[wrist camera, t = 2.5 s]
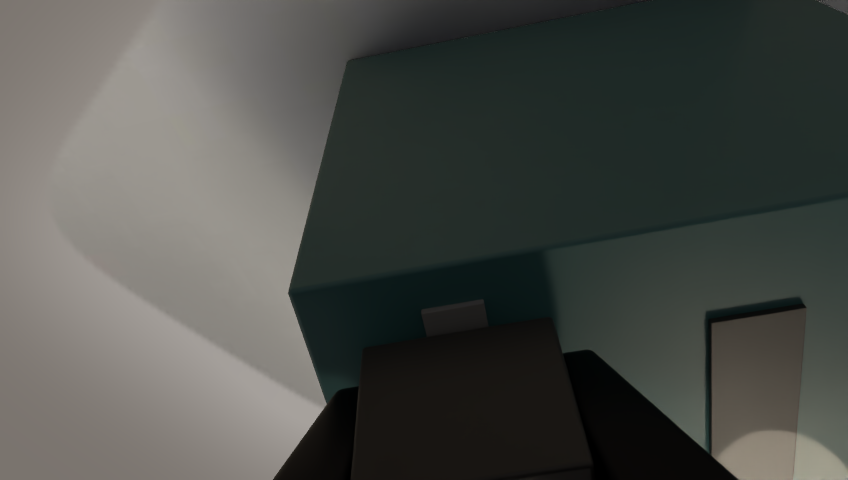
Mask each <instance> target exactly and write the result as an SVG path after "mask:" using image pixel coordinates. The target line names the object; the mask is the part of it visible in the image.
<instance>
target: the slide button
mask: <svg viewBox="0 0 848 480" xmlns="http://www.w3.org/2000/svg"><path fill="white" fill-rule="evenodd" d="M350 480H596V475H595V466H594V461H593V457H592V454H591V450H590V447H589V443H588V440H587V436H586V433H585V429H584V426H583V422H582V419H581V415H580V412H579V408H578V404H577V401H576V397H575V394H574V390H573V387H572V383H571V380H570V376H569V373H568V369H567V366H566V362H565V359H564V355H563V352H562V348H561V345H560V341H559V338H558V334H557V331H556V327H555V324H554V320H553V319H552V318H551V317H544V318H538V319H532V320H526V321H520V322H514V323H508V324H502V325H496V326H490V327H484V328H478V329H472V330H466V331H460V332H454V333H448V334H442V335H436V336H430V337H424V338H418V339H412V340H406V341H400V342H394V343H388V344H382V345H376V346H370V347H365V348H363V350H362V356H361V367H360V378H359V390H358V401H357V412H356V423H355V434H354V445H353V457H352V468H351V479H350Z"/></svg>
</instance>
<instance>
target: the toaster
mask: <svg viewBox="0 0 848 480" xmlns="http://www.w3.org/2000/svg"><path fill="white" fill-rule="evenodd" d="M288 294H289V297H290V300H291V303H292V305H293V308H294V311H295V314H296V317H297V320H298V323H299V326H300V328H301V331H302V334H303V337H304V340H305V343H306V346H307V349H308V351H309V354H310V357H311V360H312V363H313V366H314V369H315V372H316V374H317V377H318V380H319V383H320V386H321V389H322V392H323V394H324V397H325V400H326V403H327V404H328V402H329V401H330V400H331V398H332V397H333V395H334V394H335V393H336V392H337V391H338V390H341V389H344V388H351V387H357V386H359V378H360V367H361V356H362V350H363V348H365V347H370V346H376V345H382V344H388V343H394V342H400V341H406V340H412V339H418V338H424V337H430V336H436V335H442V334H448V333H454V332H460V331H466V330H472V329H478V328H484V327H490V326H496V325H502V324H508V323H514V322H520V321H526V320H532V319H538V318H544V317H551V318H552V319H553V320H554V324H555V327H556V331H557V334H558V338H559V341H560V345H561V348H562V352H563V353H567V352H573V351H579V350H585V349H589V350H592V351H594V352H595V353H596V354H597V355H598V356H599V357H600V358H602V359H603V360H604V361H605V362H606V363H607V364H608V365H610V366H611V367H612V368H613V369H614V370H615V371H616V372H617V373H619V374H620V375H621V376H622V377H623V378H624V379H625V380H627V381H628V382H629V383H630V384H631V385H632V386H633V387H634V388H636V389H637V390H638V391H639V392H640V393H641V394H642V395H643V396H645V397H646V398H647V399H648V400H649V401H650V402H651V403H653V404H654V405H655V406H656V407H657V408H658V409H659V410H660V411H662V412H663V413H664V414H665V415H666V416H667V417H668V418H670V419H671V420H672V421H673V422H674V423H675V424H676V425H677V426H679V427H680V428H681V429H682V430H683V431H684V432H685V433H686V434H688V435H689V436H690V437H691V438H692V439H693V440H694V441H696V442H697V443H698V444H699V445H700V446H701V447H702V448H703V449H705V450H706V451H707V452H708V453H709V454H710V455H711V456H713V457H714V458H715V459H716V460H717V461H718V462H719V463H720V464H722V465H723V466H724V467H725V468H726V469H727V470H728V471H729V472H731V473H732V474H733V475H734V476H735V477H736V478H737V479H739V480H848V15H847V14H845V13H843V12H840V11H838V10H836V9H834V8H832V7H830V6H827V5H825V4H823V3H821V2H819V1H816V0H650V1H645V2H640V3H635V4H630V5H625V6H620V7H615V8H610V9H605V10H600V11H595V12H590V13H585V14H580V15H575V16H570V17H565V18H560V19H555V20H550V21H545V22H540V23H535V24H530V25H525V26H520V27H515V28H510V29H505V30H500V31H495V32H490V33H485V34H480V35H475V36H470V37H465V38H460V39H455V40H450V41H445V42H440V43H435V44H430V45H425V46H421V47H416V48H411V49H406V50H401V51H396V52H391V53H386V54H381V55H376V56H371V57H366V58H361V59H356V60H351V61H348V62H347V64H346V67H345V71H344V75H343V79H342V83H341V87H340V91H339V95H338V99H337V103H336V107H335V111H334V115H333V118H332V122H331V126H330V130H329V134H328V138H327V142H326V146H325V150H324V154H323V158H322V162H321V165H320V169H319V173H318V177H317V181H316V185H315V189H314V193H313V197H312V201H311V205H310V209H309V213H308V216H307V220H306V224H305V228H304V232H303V236H302V240H301V244H300V248H299V252H298V256H297V260H296V264H295V267H294V271H293V275H292V279H291V283H290V287H289V292H288Z"/></svg>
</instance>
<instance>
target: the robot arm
mask: <svg viewBox="0 0 848 480" xmlns="http://www.w3.org/2000/svg"><path fill="white" fill-rule="evenodd" d="M563 355H564V359H565V362H566V366H567V369H568V373H569V376H570V380H571V383H572V387H573V390H574V394H575V397H576V401H577V404H578V408H579V412H580V415H581V419H582V422H583V426H584V429H585V433H586V436H587V440H588V443H589V447H590V450H591V454H592V457H593V461H594V466H595V475H596V480H739V479H737V478H736V477H735V476H734V475H733V474H732V473H731V472H729V471H728V470H727V469H726V468H725V467H724V466H723V465H722V464H720V463H719V462H718V461H717V460H716V459H715V458H714V457H713V456H711V455H710V454H709V453H708V452H707V451H706V450H705V449H703V448H702V447H701V446H700V445H699V444H698V443H697V442H696V441H694V440H693V439H692V438H691V437H690V436H689V435H688V434H686V433H685V432H684V431H683V430H682V429H681V428H680V427H679V426H677V425H676V424H675V423H674V422H673V421H672V420H671V419H670V418H668V417H667V416H666V415H665V414H664V413H663V412H662V411H660V410H659V409H658V408H657V407H656V406H655V405H654V404H653V403H651V402H650V401H649V400H648V399H647V398H646V397H645V396H643V395H642V394H641V393H640V392H639V391H638V390H637V389H636V388H634V387H633V386H632V385H631V384H630V383H629V382H628V381H627V380H625V379H624V378H623V377H622V376H621V375H620V374H619V373H617V372H616V371H615V370H614V369H613V368H612V367H611V366H610V365H608V364H607V363H606V362H605V361H604V360H603V359H602V358H600V357H599V356H598V355H597V354H596V353H595V352H594V351H592V350H589V349H585V350H579V351H573V352H567V353H563ZM358 390H359V386H357V387H351V388H344V389H341V390H338V391H337V392H336V393H335V394H334V395H333V397H332V398H331V400H330V401H329V402H328V404H327V405H326V407H325V408H324V409H323V411H322V412H321V413H320V415H319V416H318V418H317V419H316V420H315V422H314V423H313V425H312V426H311V427H310V429H309V430H308V432H307V433H306V434H305V436H304V437H303V438H302V440H301V441H300V443H299V444H298V446H297V447H296V448H295V450H294V451H293V452H292V454H291V455H290V457H289V458H288V459H287V461H286V462H285V464H284V465H283V466H282V468H281V469H280V470H279V472H278V473H277V475H276V476H275V477H274V479H273V480H350V479H351V468H352V457H353V445H354V434H355V423H356V412H357V401H358Z"/></svg>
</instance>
